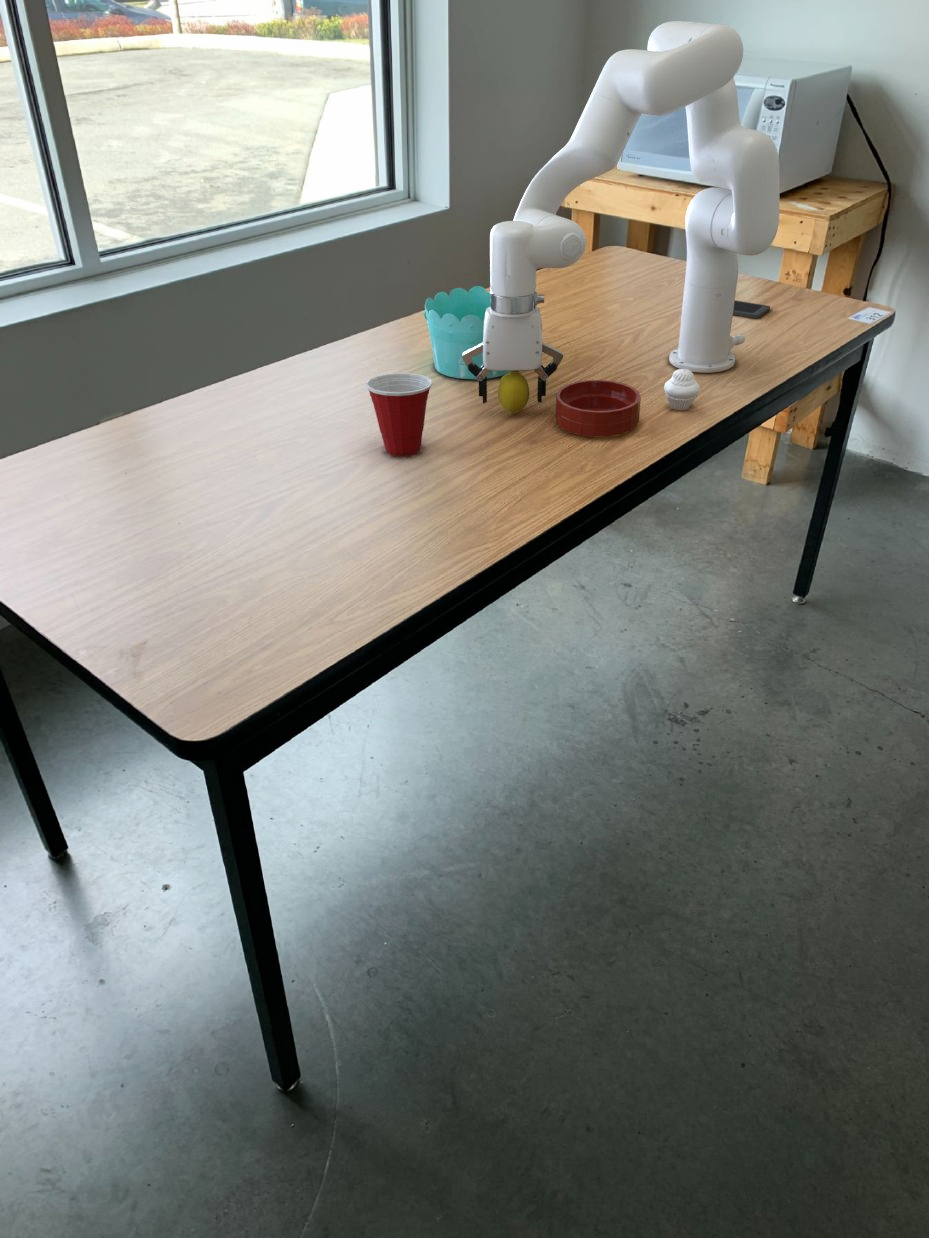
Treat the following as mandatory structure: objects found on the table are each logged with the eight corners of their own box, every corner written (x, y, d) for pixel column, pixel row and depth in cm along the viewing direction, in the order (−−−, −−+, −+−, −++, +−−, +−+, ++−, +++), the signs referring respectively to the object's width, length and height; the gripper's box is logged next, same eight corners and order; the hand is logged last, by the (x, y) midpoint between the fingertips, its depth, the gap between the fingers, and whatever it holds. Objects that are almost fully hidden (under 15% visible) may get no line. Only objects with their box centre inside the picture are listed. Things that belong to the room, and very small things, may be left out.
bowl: (600, 400, 176) (601, 373, 173) (655, 425, 167) (657, 397, 164) (539, 420, 170) (539, 393, 167) (592, 447, 160) (594, 419, 157)
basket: (413, 375, 189) (409, 309, 181) (450, 344, 203) (447, 282, 195) (505, 386, 183) (505, 318, 175) (536, 354, 196) (537, 289, 189)
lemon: (526, 421, 170) (527, 377, 165) (495, 419, 171) (494, 376, 166) (531, 408, 174) (531, 365, 169) (500, 407, 175) (500, 364, 170)
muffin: (704, 405, 173) (708, 367, 169) (685, 416, 169) (689, 378, 165) (674, 397, 176) (678, 360, 172) (655, 407, 173) (658, 369, 169)
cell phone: (758, 318, 210) (758, 315, 209) (698, 308, 216) (698, 305, 216) (770, 309, 214) (771, 306, 214) (711, 300, 221) (712, 296, 221)
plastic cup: (445, 439, 164) (442, 371, 158) (422, 467, 156) (418, 396, 149) (386, 432, 168) (380, 365, 161) (360, 459, 159) (353, 389, 152)
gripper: (564, 295, 164) (560, 391, 173) (461, 296, 164) (463, 392, 174) (566, 308, 157) (562, 408, 167) (459, 309, 158) (462, 408, 168)
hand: (512, 400), depth 171 cm, fingers open, 9 cm apart
